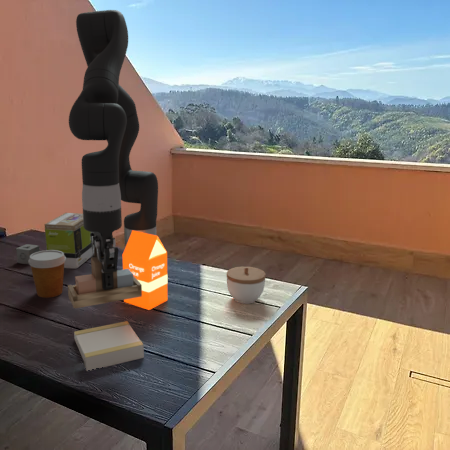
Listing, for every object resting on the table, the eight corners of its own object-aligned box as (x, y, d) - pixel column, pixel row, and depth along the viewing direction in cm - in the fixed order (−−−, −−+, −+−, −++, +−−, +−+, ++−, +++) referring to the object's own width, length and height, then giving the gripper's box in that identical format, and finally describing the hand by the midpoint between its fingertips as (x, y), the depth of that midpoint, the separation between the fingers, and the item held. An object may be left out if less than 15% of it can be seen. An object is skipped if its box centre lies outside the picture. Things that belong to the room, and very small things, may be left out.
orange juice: (149, 314, 120) (147, 239, 115) (123, 305, 125) (121, 233, 120) (168, 303, 127) (167, 232, 122) (143, 295, 131) (141, 226, 126)
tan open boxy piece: (133, 286, 105) (132, 250, 103) (141, 296, 100) (140, 258, 98) (68, 297, 99) (65, 259, 97) (74, 308, 94) (71, 268, 92)
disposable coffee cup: (56, 305, 124) (53, 262, 121) (24, 301, 126) (20, 259, 123) (74, 291, 133) (72, 251, 130) (44, 288, 135) (41, 248, 132)
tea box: (68, 252, 165) (65, 211, 161) (95, 254, 164) (93, 213, 160) (47, 267, 151) (43, 222, 147) (76, 269, 150) (74, 224, 146)
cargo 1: (92, 289, 100) (91, 274, 99) (96, 295, 97) (95, 279, 96) (76, 291, 98) (75, 276, 97) (79, 297, 95) (78, 282, 94)
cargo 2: (128, 283, 103) (128, 268, 102) (133, 288, 100) (133, 273, 99) (113, 285, 102) (112, 271, 101) (117, 291, 99) (117, 276, 98)
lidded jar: (269, 295, 134) (271, 264, 131) (256, 310, 124) (257, 277, 122) (235, 288, 138) (236, 258, 135) (219, 302, 128) (220, 270, 126)
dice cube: (17, 262, 154) (16, 248, 153) (27, 258, 159) (26, 244, 157) (30, 264, 153) (29, 250, 151) (40, 259, 157) (39, 245, 156)
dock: (127, 332, 111) (127, 320, 110) (143, 357, 101) (143, 344, 100) (74, 344, 105) (74, 331, 104) (86, 371, 95) (85, 357, 94)
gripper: (130, 211, 90) (133, 294, 95) (111, 197, 102) (114, 271, 107) (90, 215, 87) (95, 301, 91) (75, 199, 99) (80, 276, 103)
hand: (105, 284), depth 99 cm, fingers closed on tan open boxy piece, 3 cm apart
